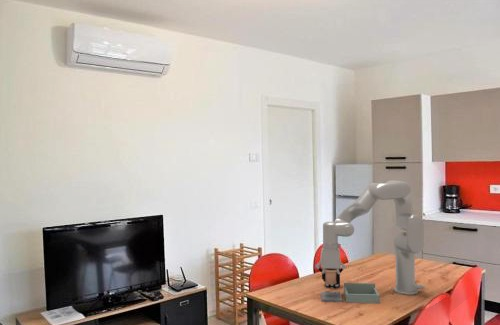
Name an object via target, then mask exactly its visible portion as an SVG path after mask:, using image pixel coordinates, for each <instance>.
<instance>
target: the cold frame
mask: <svg viewBox="0 0 500 325" xmlns="http://www.w3.org/2000/svg"><path fill="white" fill-rule="evenodd" d="M343 296H344V299H345V302H346V303H354V304H355V303H356V304H358V303H359V304H380V300H381V299H380V296H381V295H380V293H379V291H378V290H377V288H376V283H374V282H373V283H371V282H370V283H369V282H343Z"/></svg>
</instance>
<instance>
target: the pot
mask: <svg viewBox="0 0 500 325" xmlns="http://www.w3.org/2000/svg"><path fill="white" fill-rule="evenodd" d="M324 273H325V282H324V284H325V283H326V284H336V283H337V275H336V274H337V270H336V269H325V270H324Z"/></svg>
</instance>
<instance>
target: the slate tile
mask: <svg viewBox="0 0 500 325" xmlns="http://www.w3.org/2000/svg"><path fill="white" fill-rule="evenodd" d="M320 296H321V302H328V303H329V302H334V303H342V302H343V298H342V294H341V291H340V292H339V291H320Z"/></svg>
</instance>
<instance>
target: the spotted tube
mask: <svg viewBox="0 0 500 325" xmlns="http://www.w3.org/2000/svg"><path fill="white" fill-rule="evenodd" d="M340 268H341V267H340ZM340 268H339V269H340ZM324 287H325V288H326V289H331V288H332V290H333V289H340V288H341V273H340V274H339V280H338V282H337V283H336V284H326V283H325V282H324Z"/></svg>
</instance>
